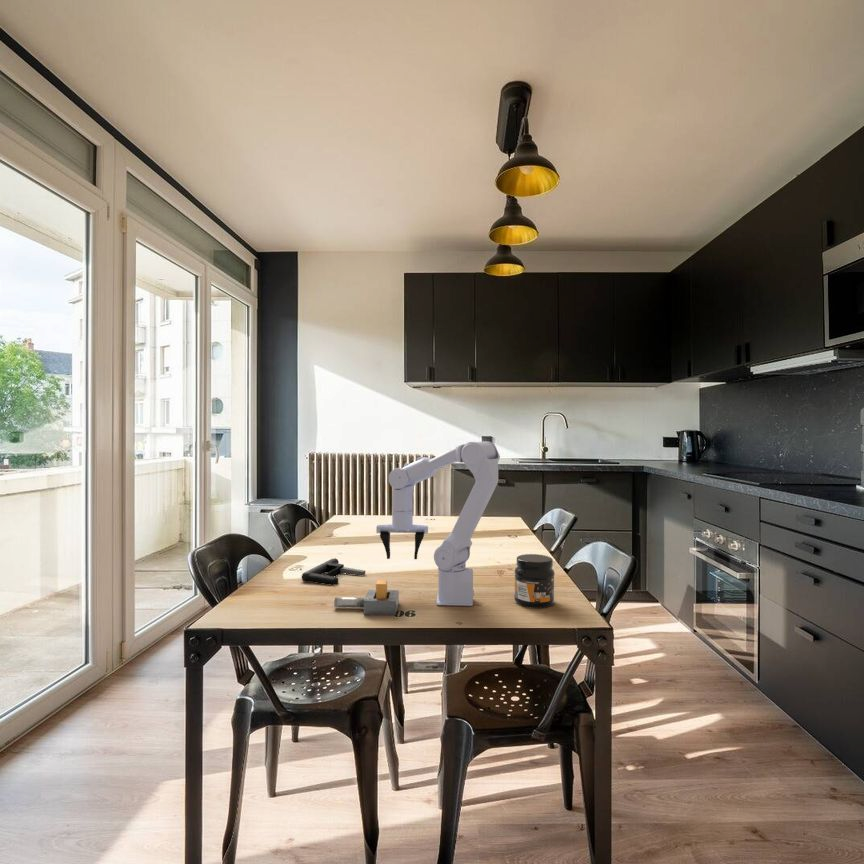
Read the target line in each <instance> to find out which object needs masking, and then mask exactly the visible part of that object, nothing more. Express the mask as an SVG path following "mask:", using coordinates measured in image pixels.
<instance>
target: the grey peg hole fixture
mask: <svg viewBox="0 0 864 864" xmlns="http://www.w3.org/2000/svg"><path fill="white" fill-rule="evenodd" d="M399 603H400V590H399V589H387V599H376V589H368V591H367V593H366V595H365V596H364V597H334V603H333V604H334V605H333V606H334V608H353V609H354V608H357V609H359V608H360V609H361V608H362V609H363V615H364V616H365V615H366V616H397V613H396V612H398V609H397V608H399V605H400V604H399ZM398 604H399V605H398Z"/></svg>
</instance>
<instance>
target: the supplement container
mask: <svg viewBox="0 0 864 864" xmlns="http://www.w3.org/2000/svg"><path fill="white" fill-rule="evenodd" d="M553 562H554V559H553V558H552V557H551V556H548V555H545V554H536V553H525V554H520V555H518V556H517V557H516V567H515V568H514V601H515V603H516V604H518V605H520V606H522V607H526V608H530V607H531V609H544V607H545V608H548V607H551V606H552V605H553V604H554V602H555V573H556V572H555V570H554V569H553V566H554V563H553Z"/></svg>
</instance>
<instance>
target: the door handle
mask: <svg viewBox="0 0 864 864" xmlns="http://www.w3.org/2000/svg"><path fill="white" fill-rule="evenodd" d="M325 572H328V573H325ZM339 573H346V574H345V575H348V574H355V575H354V576H358V575H364V574H365V575H366V570H363V569H357V568H352V567H351V568H350V567H347V566H346V567H345V566H344V564H342V563H339V560H338V559H337V558H336V557H335V558H330V559H329V560H327V561H324V562H323V563H320V564H319V565H316V566H314V567H313V568H311V569H309V570H306V571H305V572H302V574H301V580H302V581H303V582H304V581H305V582H304V583H309V582H312V583H315V582H317V583H316V584H321V583H324V584H323V585H327V584H331V585H330V586H334V585H333V584H336V585H337V584H338V583H339V578H338V577H337V576H339V575H340V574H339ZM338 574H339V575H338ZM336 575H337V576H336ZM365 575H364V576H365ZM334 576H335V577H334ZM308 581H309V582H308Z"/></svg>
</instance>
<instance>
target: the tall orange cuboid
mask: <svg viewBox="0 0 864 864" xmlns="http://www.w3.org/2000/svg"><path fill="white" fill-rule="evenodd" d="M375 590H376V599H387V590H388V579H377V581H376V583H375Z"/></svg>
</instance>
